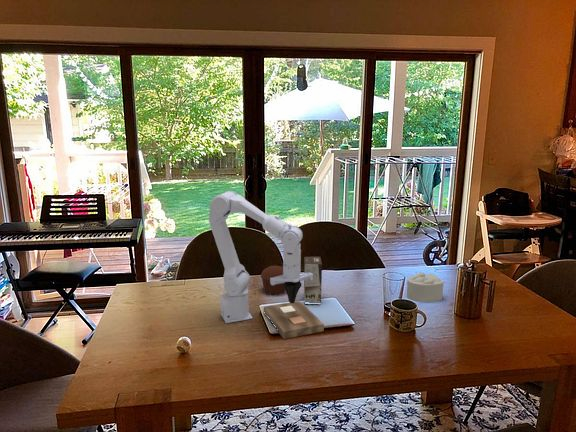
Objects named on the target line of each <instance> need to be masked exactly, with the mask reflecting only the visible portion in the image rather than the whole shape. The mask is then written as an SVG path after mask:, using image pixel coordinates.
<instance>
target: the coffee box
mask: <svg viewBox="0 0 576 432" xmlns="http://www.w3.org/2000/svg"><path fill="white" fill-rule="evenodd" d="M303 258H304V259H303V265H304V266H303V267H304V268H303V273H312V274H313V280H303V282H304V283H303V284H304V286H303V297H304V298H303V300H304V303H305V302H309V303H321V304H322V281H323V280H322V277H323V275H322V274H323V273H322V272H323V271H322V269H323V263H322V259H321V258H322V257H321V256H304V257H303Z"/></svg>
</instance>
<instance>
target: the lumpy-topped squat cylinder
mask: <svg viewBox="0 0 576 432" xmlns="http://www.w3.org/2000/svg"><path fill="white" fill-rule="evenodd" d="M406 285H407V286H406V298H407V299H408V300H410V301H413V302H419V303H437V302H441V301H442V300H443V293H444V280H443V279H441V278H439V277H438V276H436V275H435V274H433V273H429V274H426V273H424V272H421V271H420V272H419V271H418V272H417V273H416V274H414V275H412V276H410V277H408V278H407V284H406Z"/></svg>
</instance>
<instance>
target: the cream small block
mask: <svg viewBox="0 0 576 432" xmlns="http://www.w3.org/2000/svg"><path fill="white" fill-rule="evenodd" d="M279 309H280V311H281V312H282V313H283V314H286V313H292V312H296V310H295V309H294V308H293V307H292V306H286V307H280V308H279Z"/></svg>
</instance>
